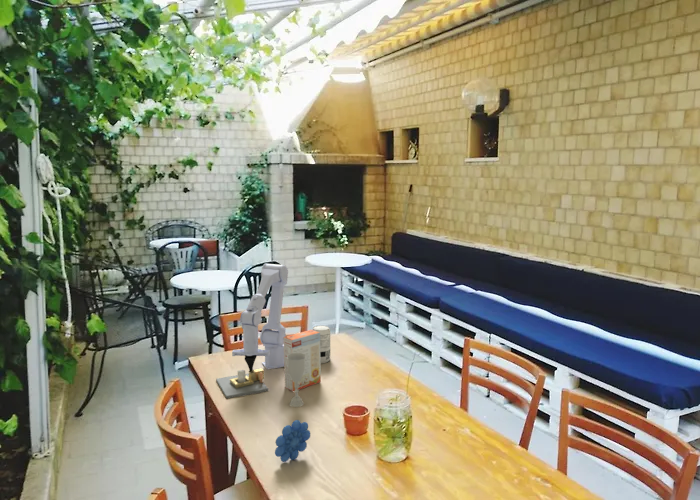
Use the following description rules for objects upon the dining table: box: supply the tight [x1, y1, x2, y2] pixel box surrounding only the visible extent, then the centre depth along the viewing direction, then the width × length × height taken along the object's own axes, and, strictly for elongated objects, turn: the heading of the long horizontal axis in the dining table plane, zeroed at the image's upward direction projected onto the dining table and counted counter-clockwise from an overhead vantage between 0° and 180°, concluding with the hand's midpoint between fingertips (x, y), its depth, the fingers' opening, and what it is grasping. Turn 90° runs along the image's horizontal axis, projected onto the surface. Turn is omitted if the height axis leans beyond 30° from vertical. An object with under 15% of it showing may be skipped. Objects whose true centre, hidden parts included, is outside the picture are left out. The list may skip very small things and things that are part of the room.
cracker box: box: [283, 329, 322, 393], centre depth 213 cm, size 14×6×21 cm, turn 133°
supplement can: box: [312, 325, 331, 364], centre depth 240 cm, size 8×8×15 cm
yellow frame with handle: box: [230, 367, 265, 388], centre depth 214 cm, size 12×7×4 cm, turn 123°
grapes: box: [274, 419, 311, 463], centre depth 160 cm, size 12×7×12 cm, turn 124°
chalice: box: [287, 353, 306, 408], centre depth 196 cm, size 7×7×18 cm
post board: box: [215, 369, 269, 399], centre depth 213 cm, size 16×18×6 cm
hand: (251, 373), depth 218 cm, fingers closed, pressing on yellow frame with handle
